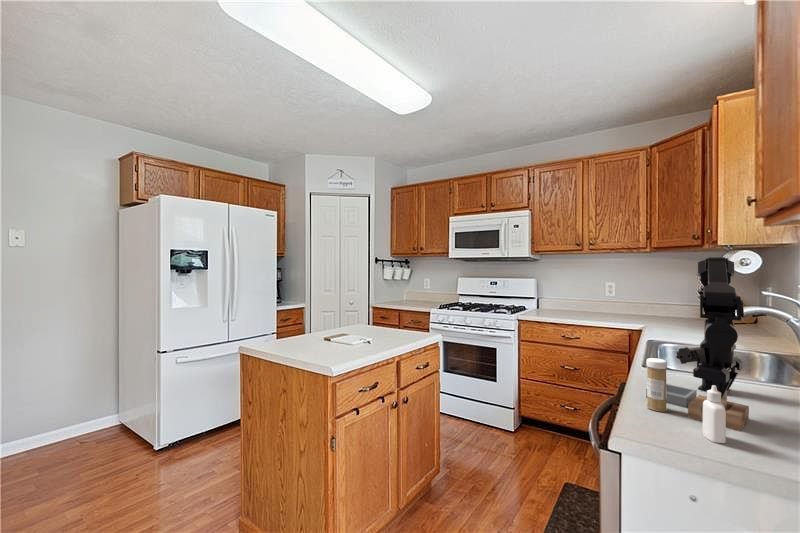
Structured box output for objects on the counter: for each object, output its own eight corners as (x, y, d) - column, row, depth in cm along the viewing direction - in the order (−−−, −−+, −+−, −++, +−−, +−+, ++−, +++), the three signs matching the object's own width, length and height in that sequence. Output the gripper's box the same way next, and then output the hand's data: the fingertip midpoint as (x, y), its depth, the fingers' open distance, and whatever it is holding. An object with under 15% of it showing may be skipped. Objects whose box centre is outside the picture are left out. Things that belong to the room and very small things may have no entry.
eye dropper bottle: (728, 437, 85) (728, 385, 85) (724, 445, 81) (725, 391, 81) (703, 431, 88) (704, 380, 88) (699, 438, 84) (699, 386, 84)
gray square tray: (657, 390, 115) (657, 381, 115) (696, 399, 108) (696, 390, 108) (646, 397, 109) (646, 388, 109) (686, 407, 102) (686, 398, 102)
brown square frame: (699, 407, 102) (699, 394, 102) (748, 419, 94) (748, 405, 94) (688, 417, 96) (688, 403, 96) (740, 431, 88) (740, 416, 88)
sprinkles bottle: (669, 409, 101) (670, 360, 100) (662, 413, 98) (662, 362, 98) (650, 404, 104) (651, 356, 104) (643, 408, 102) (643, 359, 102)
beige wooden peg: (712, 406, 97) (712, 379, 97) (728, 410, 95) (728, 382, 94) (708, 409, 95) (709, 382, 95) (725, 413, 93) (725, 385, 92)
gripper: (690, 330, 107) (690, 385, 107) (668, 339, 95) (668, 400, 95) (743, 337, 98) (742, 396, 98) (725, 347, 86) (725, 414, 87)
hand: (718, 401), depth 95 cm, fingers closed on beige wooden peg, 3 cm apart
